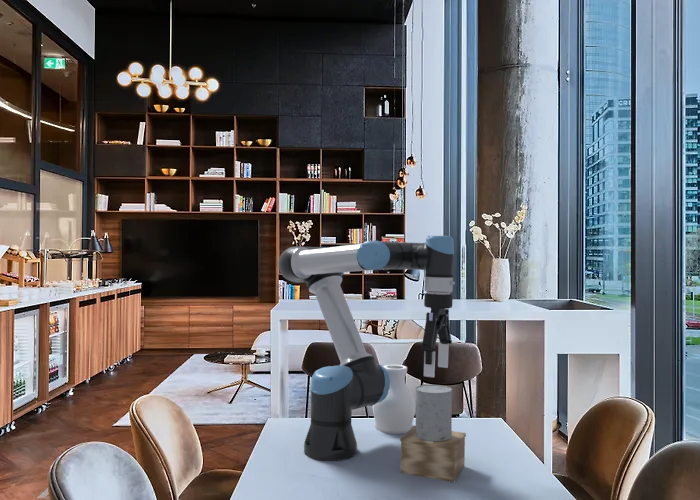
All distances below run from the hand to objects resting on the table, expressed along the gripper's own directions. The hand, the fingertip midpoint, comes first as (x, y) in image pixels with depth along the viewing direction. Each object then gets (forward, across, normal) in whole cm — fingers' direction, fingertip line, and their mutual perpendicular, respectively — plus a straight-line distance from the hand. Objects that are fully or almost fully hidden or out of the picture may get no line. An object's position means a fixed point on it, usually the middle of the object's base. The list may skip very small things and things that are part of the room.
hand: (436, 371), depth 150 cm
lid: (+17, -3, -1) cm, 17 cm away
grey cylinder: (+16, -3, -1) cm, 17 cm away
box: (+25, -3, -1) cm, 25 cm away
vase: (+26, +26, +21) cm, 42 cm away
